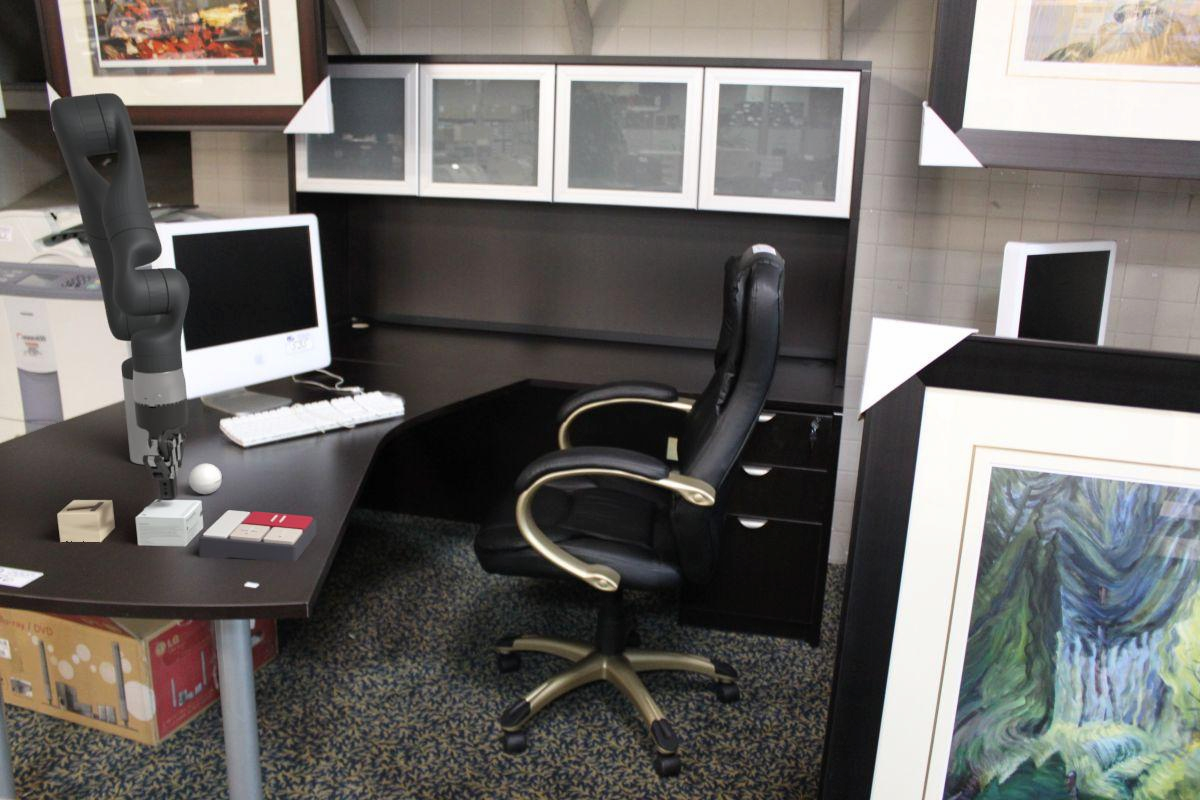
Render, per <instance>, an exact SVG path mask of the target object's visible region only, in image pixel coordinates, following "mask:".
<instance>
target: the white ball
mask: <svg viewBox="0 0 1200 800" xmlns="http://www.w3.org/2000/svg"><path fill="white" fill-rule="evenodd" d="M222 479H223V475H222V472H221V471H220V469H219V468H218V467H217V466H215V465H214V464H212V463H206V462H204V463H200V464H198V465H195V466H194V467H193V469H191V470H190V473H189V477H188V483H189V487H190V488H191V489H192V490H193V491H194V492H196V493H197V494H200V495H210V494H212V493H214V492H216V491H217V490H218V489H219V488H220V487H221V484H222V481H223V480H222Z"/></svg>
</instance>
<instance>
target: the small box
mask: <svg viewBox="0 0 1200 800" xmlns="http://www.w3.org/2000/svg"><path fill="white" fill-rule="evenodd" d="M202 502H203V501H202V500H198V499H197V500H196V499H195V500H194V499H174V500H162V499H161V498H158V499H155V500H154V501H152V502H151V503H150V504H149V505H148V506H144V508H143V510H142V511H141V512H140V513H139V514H138V515H137V516H135V517H134V518H135V526H136V527H135V528H136V537H137V545H138V546H152V547H154V546H156V547H187V545H188V544H189V543H190V542H191V541H192V540H193V539H194V538H195V537H196V536H197V535H198V534H199V533H200V532H201V531H202V530H203V529H204V520H203V518H204V517H203V506H202V505H203V504H202Z"/></svg>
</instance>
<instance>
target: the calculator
mask: <svg viewBox="0 0 1200 800" xmlns="http://www.w3.org/2000/svg"><path fill="white" fill-rule="evenodd" d="M316 535H317V519H315V518H314V517H312V516H306V515H297V514H286V513H274V512H266V511H264V512H262V511H252V512H249V511H243V510H231V509H229V510H227V511H225V512H224V513H222V515H220V516H219V518H217V519H216V520H215V521H214V522H213V523H212V524H211V525H210V526H208V528H207V529H206V530H205V531H204V532H203V533H202V534H200V535H199V537H198V547H199V548H198V552H199V558H202V559H203V558H205V559H207V558H208V559H225V560H226V559H228V558H232V559H241V560H242V559H243V560H253V561H254V560H255V561H267V562H269V561H271V562H272V561H273V562H296V561H297V560H298V559H299V557H300V556H301V555H302V553H304V551H305V550H306V548H307V547H308V546H309V545H310V543H311V542H312V541H313V539H314V538H315V536H316Z"/></svg>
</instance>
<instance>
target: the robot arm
mask: <svg viewBox="0 0 1200 800" xmlns="http://www.w3.org/2000/svg"><path fill="white" fill-rule="evenodd" d="M49 110H50V118H51V119H50V120H51V124H52V128H53V131H54V135H55V137H56V140H57V143H58V146H59V149H60V152H61V154H62V157H63V160H64V163H65V166H66V168H67V172H68V174H69V177H70V179H71V180H70V181H71V183H72V186H73V188H74V192H75V196H76V201H77V205H78V209H79V213H80V217H81V222H82V225H83V230H84V233H85V236H86V240H87V243H88V247H89V250H90V252H91V256H92V259H93V262H94V265H95V268H96V271H97V275H98V279H99V282H100V283H99V284H100V287H101V293H102V294H101V295H102V298H103V304H104V309H105V310H104V311H105V314H106V315H105V316H106V320H107V324H108V327H109V330H110V333H111V335H112V336H113V337H114V338H115V339H116V340H118V341H123V342H130V349H131V356H130V357H129V358H126V359H125V360H123V362H122V363H121V366H120V367H121V377H122V389H123V399H124V408H125V420H126V428H127V439H128V450H129V458H130V462H132V463H134V464H137V465H144V467H145V468H146V470H147V473H148V474H149V475H150V477H151V479H152V480H158V482H159V491H160V499H162V500H176V498H177V497H178V496H179V491H178V489H179V488H178V480H177V476H178V474H179V469H180V468H182V465H183V457H184V451H185V446H186V445H185V444H186V439H187V434H186V433H185V432H180V428H182V427H184V426H185V425H187V424H188V422H189V409H188V407H189V406H188V398H187V397H188V395H187V383H186V377H185V374H184V369H183V368H184V367H183V358H182V357H183V356H182V355H183V353H182V336H183V335H182V334H183V327H184V322H185V318H186V313H187V310H188V304H189V301H190V285H189V282H188V280H187V278H186V276H185V275H184V274H183V272H182V271H180V270H179V269H177V268H173V267H163V268H162V267H159V268H158V267H157V268H148V269H147V268H144V269H143V268H142V269H141V268H140V267H143V266H146V265H148V264H149V265H150V264H152V263H154V262H156V261H157V260H158V259H159V258H160V257H161V255H162V254H163V253H162V252H163V247H162V242H161V240H160V236H159V233H158V231H157V228H156V224H155V222H154V219H153V216H152V213H151V210H150V206H149V202H148V198H147V193H146V187H145V181H144V180H145V179H144V175H143V170H142V165H141V159H140V155H139V151H138V150H139V149H138V145H137V141H136V137H135V134H134V133H135V132H134V128H133V124H132V121H131V118H130V114H129V110H128V108H127V106H126V104H125V103H124V100H123V99H122V98H121V97H120V96H119V95H118V94H116V93H109V92H105V93H104V92H103V93H102V92H101V93H91V94H83V95H75V96H65V97H59V98H56V99H54V100H53V101H52V102H51V104H50V109H49ZM113 153H114V154H115V153H117V166H116V168H115V169H116V170H115V172H114V175H113V178H112V180H111V183H110V182H108V181H107V180H106V179H105V178H104V177H103V176H102V175H101V174H100V173H99V172H98V171H97V170H96V169H95V167H94V166H93V165H92V163H91V162H90V161H89V160H88V158H87V157H90V156H97V155H98V156H99V155H104V154H105V155H106V154H113ZM137 268H140V269H137Z"/></svg>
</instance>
